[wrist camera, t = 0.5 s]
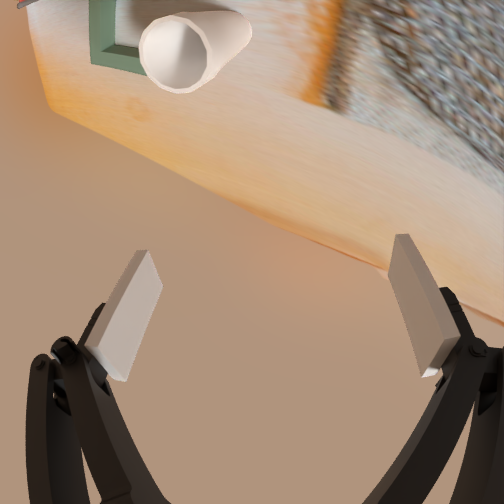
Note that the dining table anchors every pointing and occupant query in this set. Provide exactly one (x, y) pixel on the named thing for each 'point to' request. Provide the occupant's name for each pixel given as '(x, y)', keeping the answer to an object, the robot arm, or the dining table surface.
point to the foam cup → (191, 47)
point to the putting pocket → (106, 38)
